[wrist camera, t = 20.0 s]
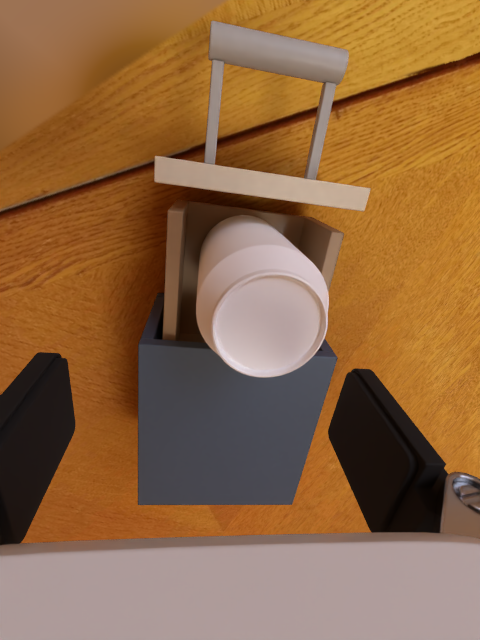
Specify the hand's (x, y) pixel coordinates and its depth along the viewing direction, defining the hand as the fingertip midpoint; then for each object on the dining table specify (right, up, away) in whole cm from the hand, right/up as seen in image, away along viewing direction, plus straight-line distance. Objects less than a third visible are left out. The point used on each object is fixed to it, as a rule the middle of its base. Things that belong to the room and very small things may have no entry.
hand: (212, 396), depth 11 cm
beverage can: (+1, +7, +13) cm, 15 cm away
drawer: (+1, +10, +13) cm, 16 cm away
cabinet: (-1, -2, +20) cm, 20 cm away
